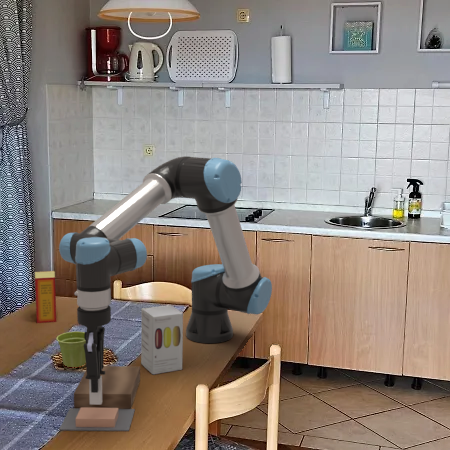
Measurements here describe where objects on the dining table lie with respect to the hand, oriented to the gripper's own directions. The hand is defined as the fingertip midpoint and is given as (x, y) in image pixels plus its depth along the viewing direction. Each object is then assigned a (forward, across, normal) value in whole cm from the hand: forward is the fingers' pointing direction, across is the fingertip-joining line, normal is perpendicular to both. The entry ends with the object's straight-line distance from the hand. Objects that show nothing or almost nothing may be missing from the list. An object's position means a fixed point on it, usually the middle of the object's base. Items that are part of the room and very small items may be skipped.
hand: (96, 403), depth 162 cm
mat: (+5, -2, 0) cm, 6 cm away
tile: (+3, -1, 0) cm, 3 cm away
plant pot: (+6, -36, -13) cm, 39 cm away
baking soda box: (+6, -79, -32) cm, 85 cm away
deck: (+5, -17, 0) cm, 18 cm away
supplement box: (+6, -36, +12) cm, 38 cm away
